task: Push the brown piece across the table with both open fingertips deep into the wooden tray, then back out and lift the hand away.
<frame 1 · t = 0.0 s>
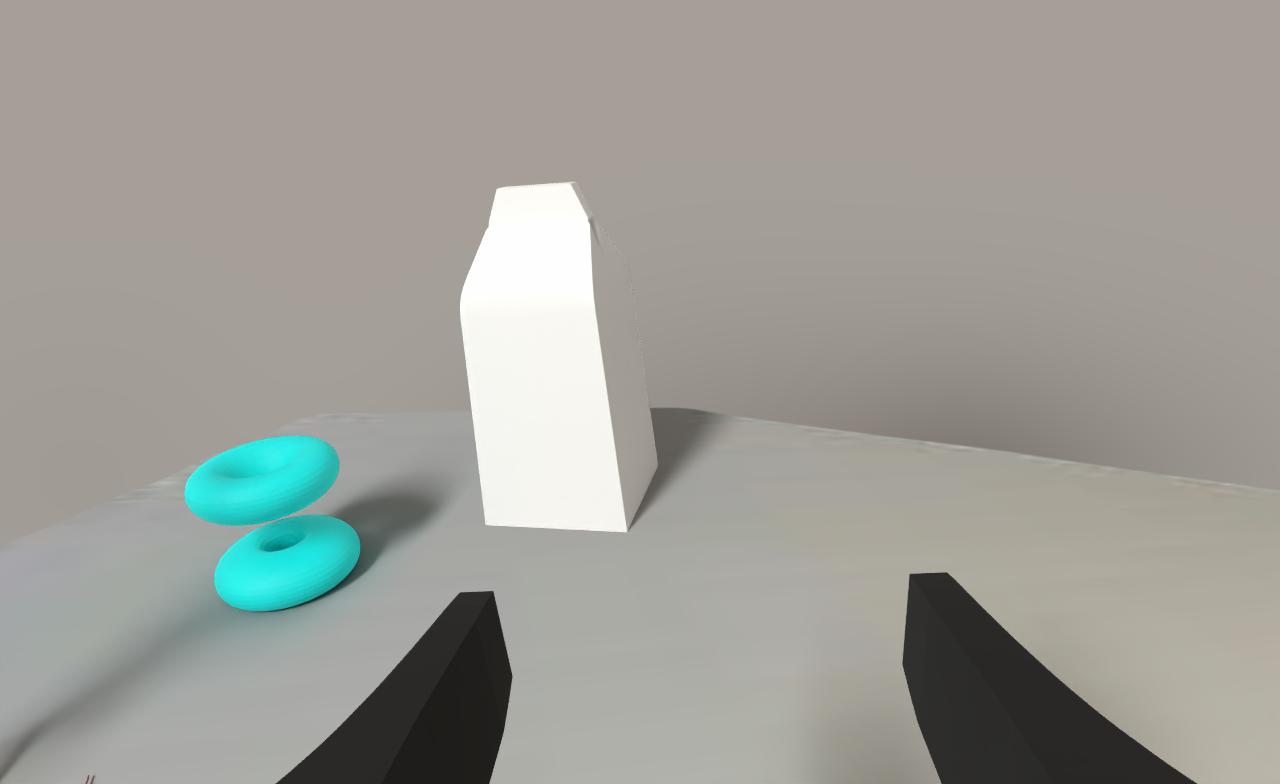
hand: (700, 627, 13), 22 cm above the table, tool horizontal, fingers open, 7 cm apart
milk: (577, 495, 64), on the table
donuts: (295, 580, 56), on the table
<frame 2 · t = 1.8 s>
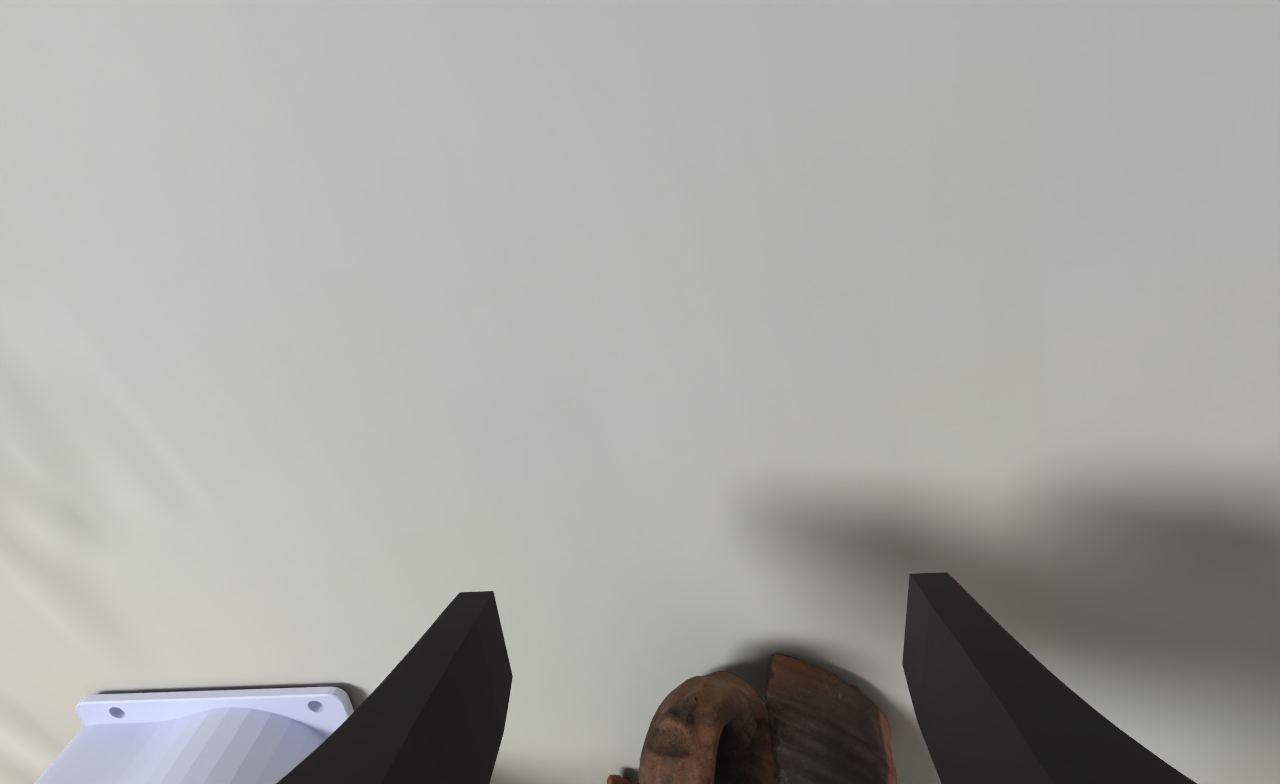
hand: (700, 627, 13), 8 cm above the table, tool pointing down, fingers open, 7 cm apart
brown piece: (732, 725, 25), on the table
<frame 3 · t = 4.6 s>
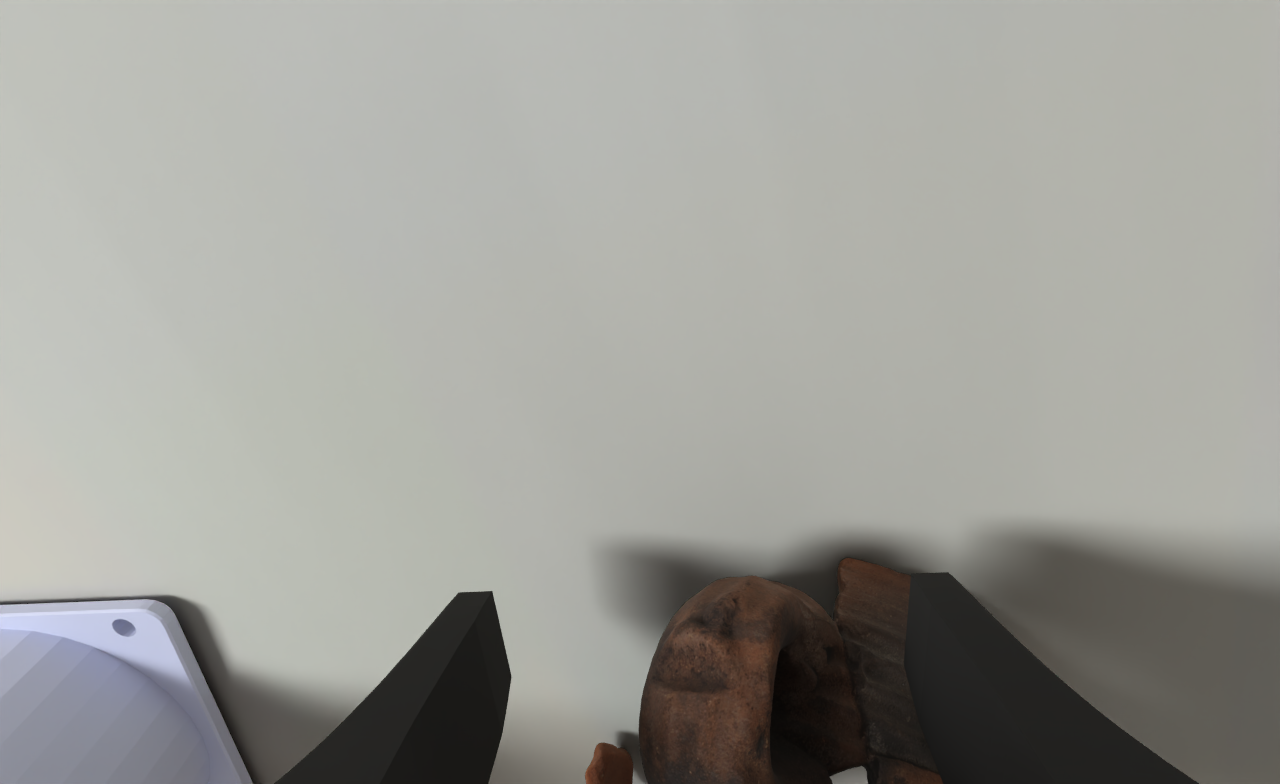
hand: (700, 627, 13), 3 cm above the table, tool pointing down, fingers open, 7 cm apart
brown piece: (776, 671, 18), on the table, touching gripper
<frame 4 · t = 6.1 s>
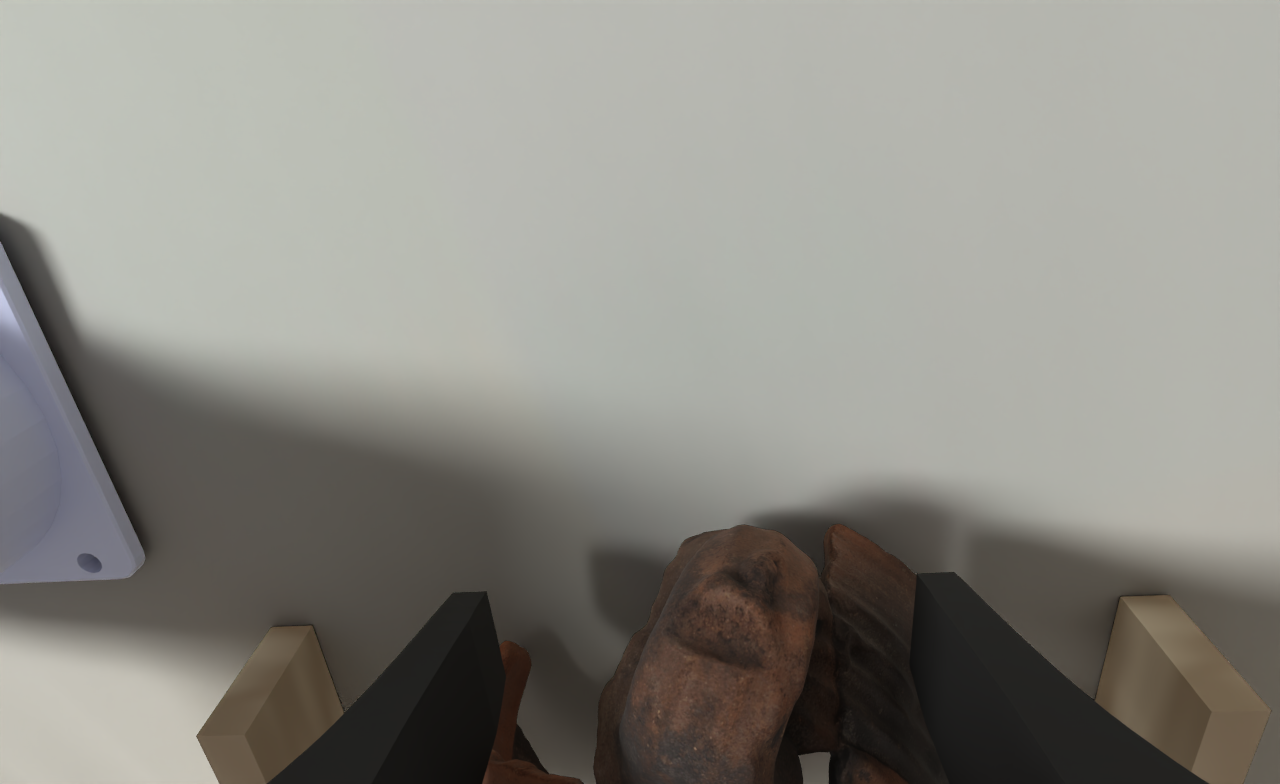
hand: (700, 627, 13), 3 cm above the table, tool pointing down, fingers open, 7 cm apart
brown piece: (712, 611, 16), on the table, touching gripper
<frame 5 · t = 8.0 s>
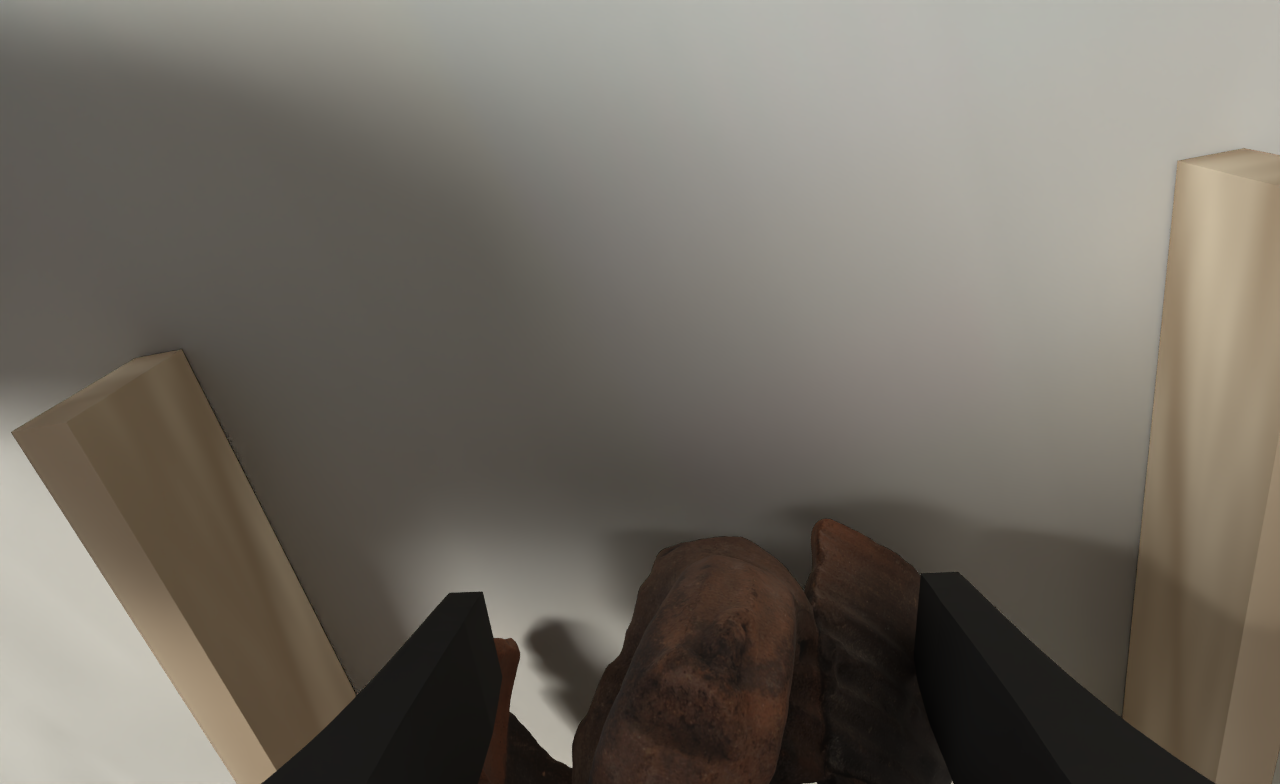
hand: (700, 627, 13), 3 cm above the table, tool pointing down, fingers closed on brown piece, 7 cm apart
brown piece: (700, 596, 16), on the table, touching gripper
wooden tray: (713, 624, 17), on the table
when the fingers open (3 cm above the table, at t = 9.2 s): brown piece stays where it is, on the table.
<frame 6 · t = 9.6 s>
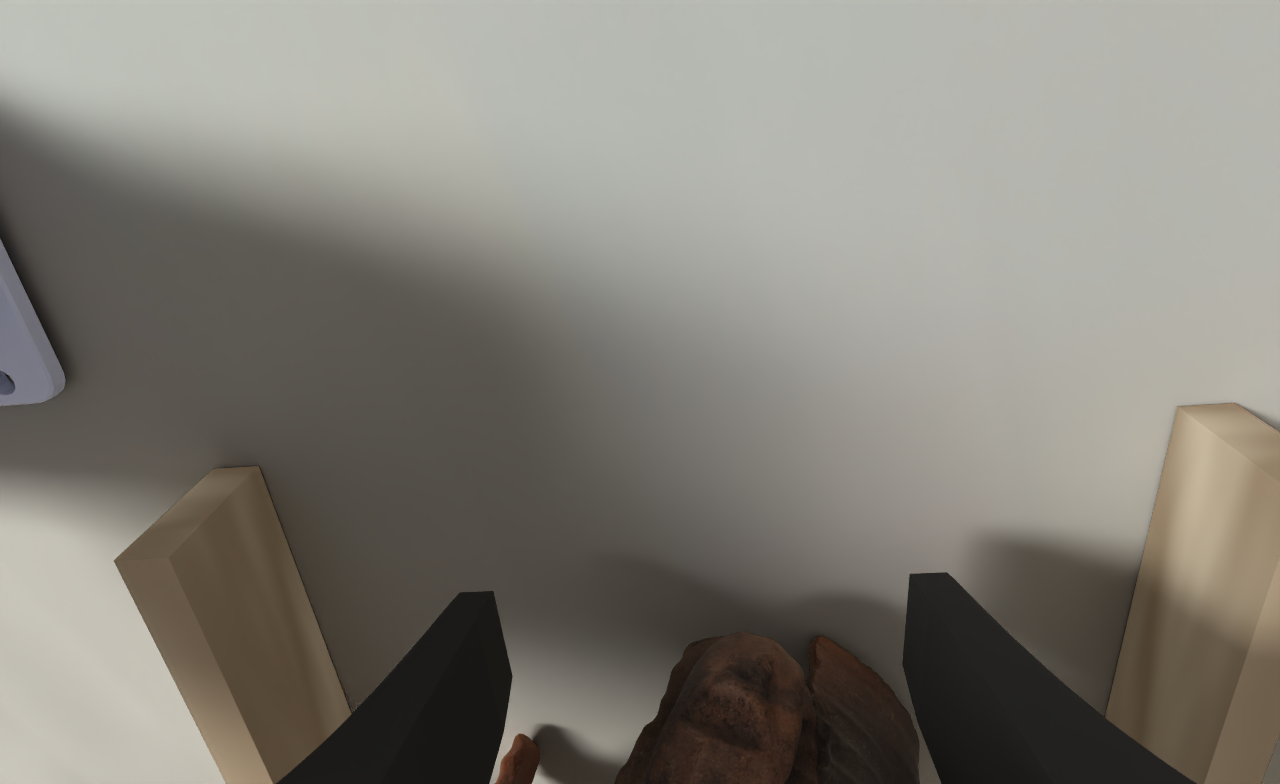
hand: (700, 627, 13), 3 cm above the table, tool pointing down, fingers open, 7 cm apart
brown piece: (707, 713, 18), on the table
wooden tray: (717, 740, 18), on the table
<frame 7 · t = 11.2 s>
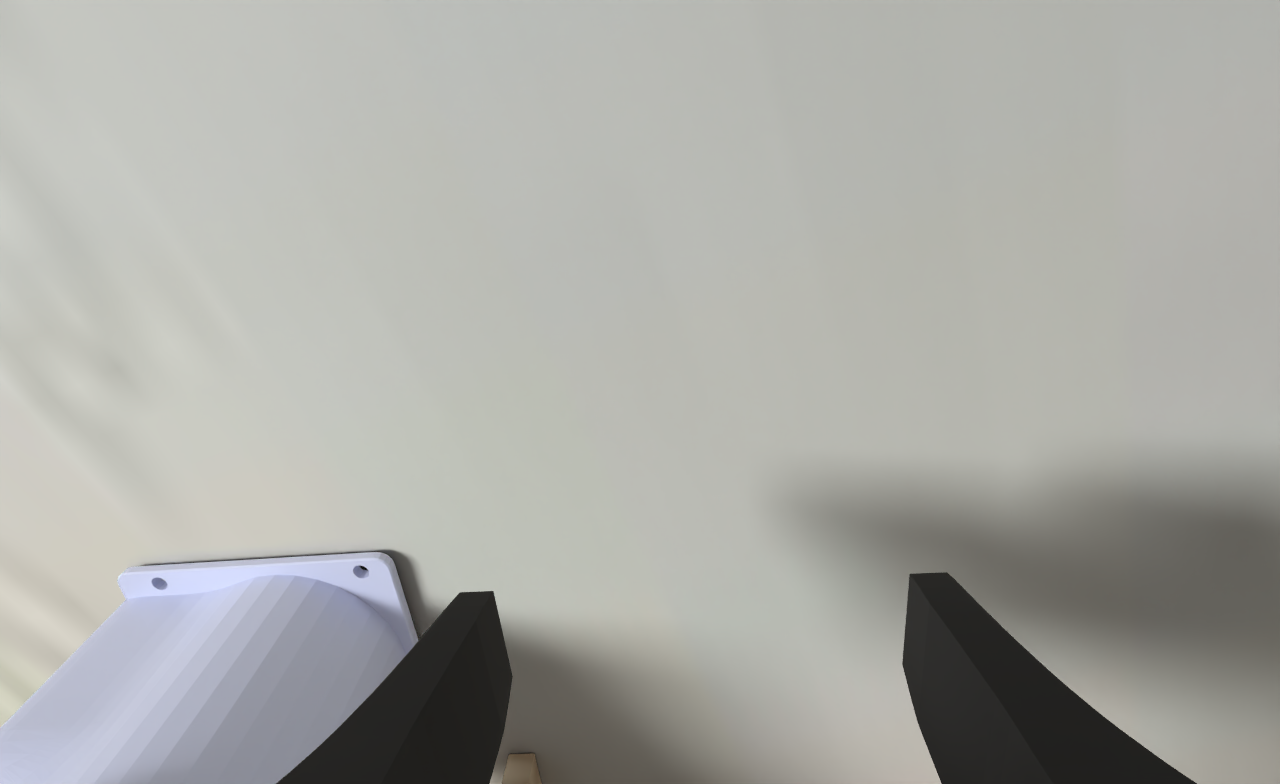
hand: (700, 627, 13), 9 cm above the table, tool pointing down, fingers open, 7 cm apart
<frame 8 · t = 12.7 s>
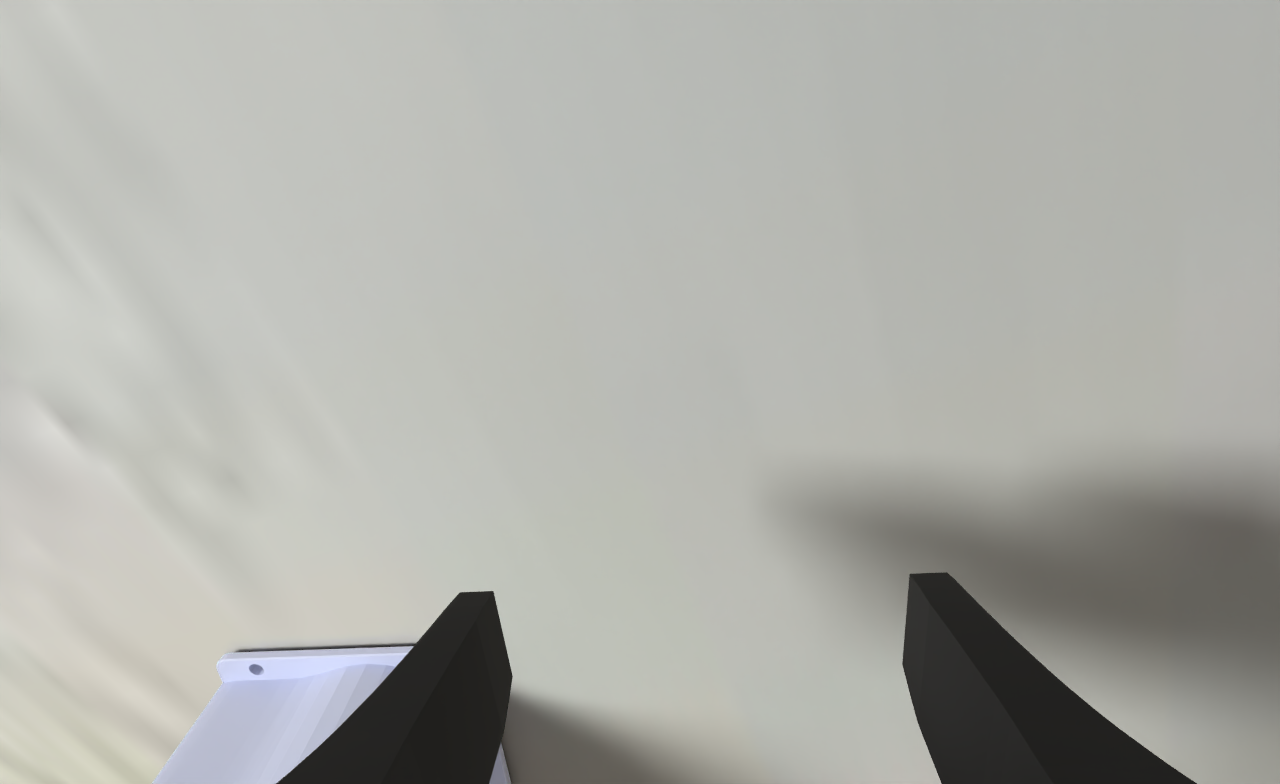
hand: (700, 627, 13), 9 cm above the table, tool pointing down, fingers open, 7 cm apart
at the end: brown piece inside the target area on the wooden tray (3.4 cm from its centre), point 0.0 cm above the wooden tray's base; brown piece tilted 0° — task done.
